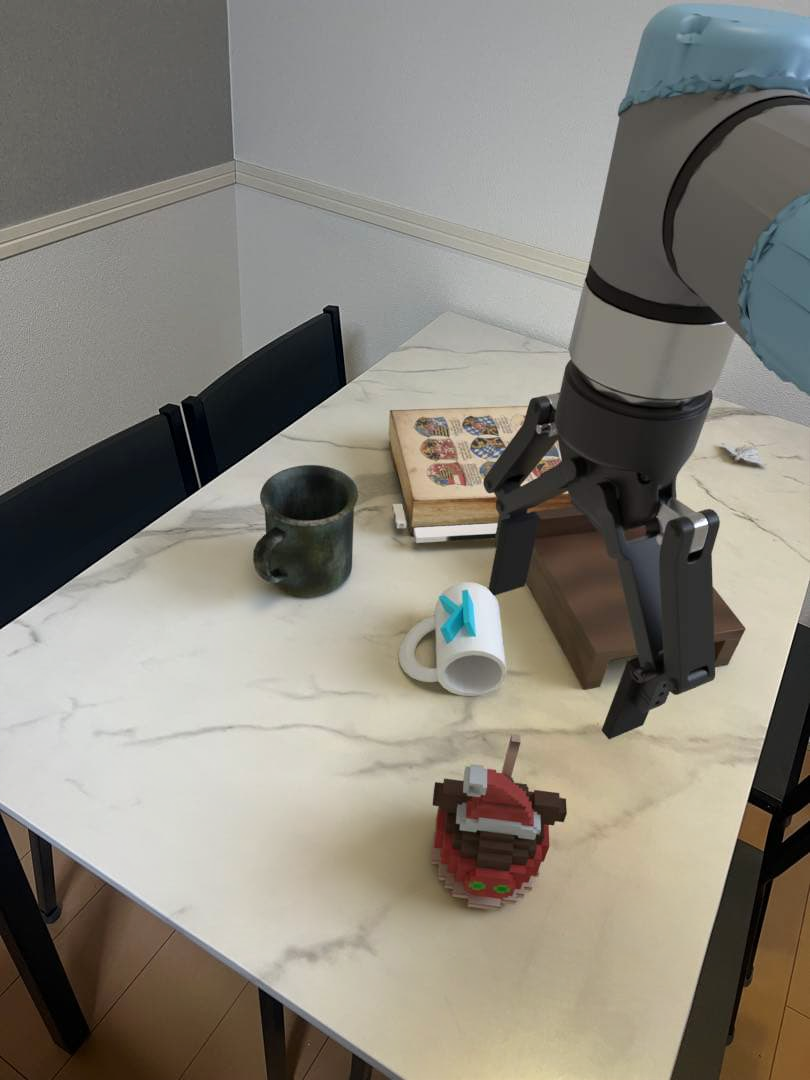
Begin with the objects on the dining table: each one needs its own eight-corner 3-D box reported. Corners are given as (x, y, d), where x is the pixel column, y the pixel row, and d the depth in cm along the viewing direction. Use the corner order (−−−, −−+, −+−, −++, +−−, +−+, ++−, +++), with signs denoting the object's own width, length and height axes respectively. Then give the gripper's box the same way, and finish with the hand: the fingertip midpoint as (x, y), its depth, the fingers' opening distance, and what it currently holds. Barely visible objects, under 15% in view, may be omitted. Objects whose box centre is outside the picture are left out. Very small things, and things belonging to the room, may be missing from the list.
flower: (730, 442, 129) (737, 427, 128) (777, 464, 125) (784, 449, 124) (710, 452, 124) (717, 436, 123) (757, 475, 120) (765, 459, 119)
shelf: (728, 664, 91) (756, 609, 85) (583, 689, 86) (602, 632, 81) (645, 550, 105) (664, 496, 99) (517, 567, 101) (530, 511, 95)
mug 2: (482, 550, 87) (490, 631, 78) (504, 606, 93) (514, 687, 84) (382, 576, 90) (378, 657, 81) (409, 629, 96) (408, 710, 86)
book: (399, 555, 102) (608, 543, 106) (402, 516, 97) (619, 505, 102) (375, 447, 120) (553, 440, 124) (376, 410, 116) (561, 404, 120)
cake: (542, 819, 74) (583, 697, 63) (545, 920, 67) (593, 803, 55) (428, 805, 75) (448, 680, 63) (419, 903, 67) (440, 783, 56)
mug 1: (373, 564, 99) (377, 487, 92) (297, 633, 90) (295, 553, 82) (305, 529, 104) (304, 453, 96) (226, 591, 94) (217, 511, 86)
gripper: (899, 493, 34) (732, 779, 47) (560, 270, 50) (508, 529, 64) (772, 536, 31) (632, 827, 45) (456, 284, 47) (426, 553, 61)
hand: (559, 652), depth 54 cm, fingers open, 13 cm apart
